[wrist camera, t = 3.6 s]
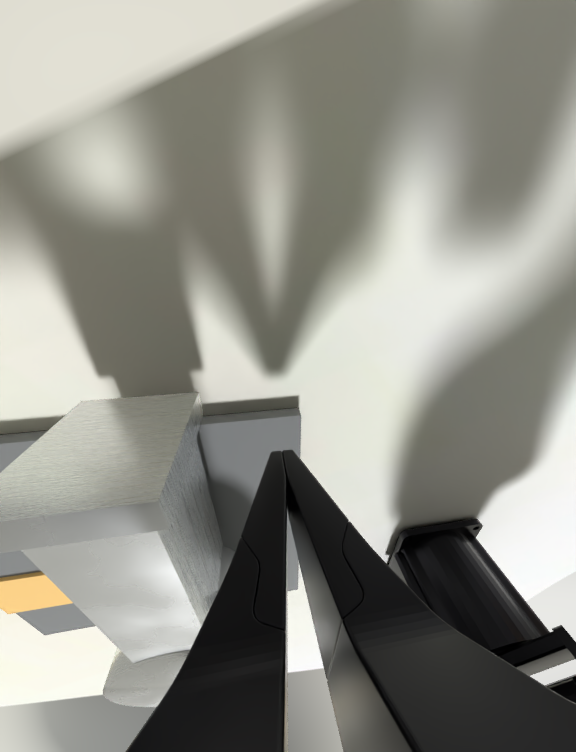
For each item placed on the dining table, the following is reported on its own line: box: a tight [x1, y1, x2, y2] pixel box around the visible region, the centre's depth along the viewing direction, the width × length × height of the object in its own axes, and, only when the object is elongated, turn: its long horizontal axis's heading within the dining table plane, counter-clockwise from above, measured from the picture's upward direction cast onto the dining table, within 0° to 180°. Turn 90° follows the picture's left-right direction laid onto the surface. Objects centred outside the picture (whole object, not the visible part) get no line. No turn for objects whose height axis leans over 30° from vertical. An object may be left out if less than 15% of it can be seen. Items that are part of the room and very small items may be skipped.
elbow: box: [0, 392, 223, 707], centre depth 10 cm, size 16×7×4 cm, turn 0°
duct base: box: [0, 408, 301, 635], centre depth 13 cm, size 18×17×3 cm
